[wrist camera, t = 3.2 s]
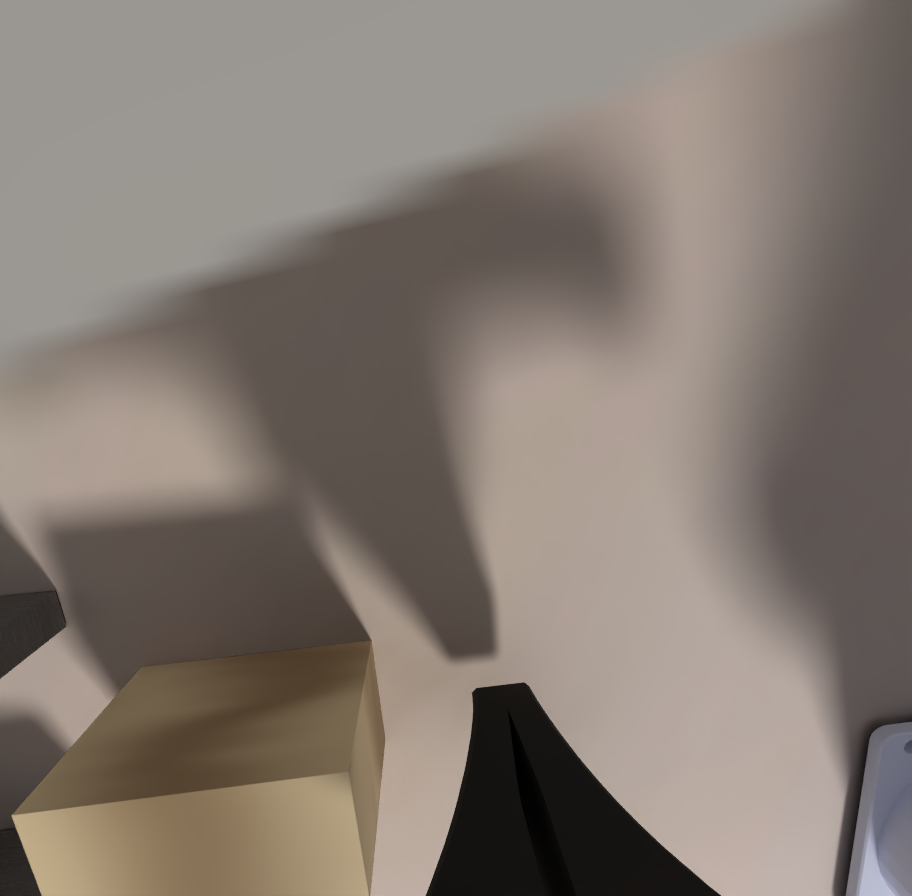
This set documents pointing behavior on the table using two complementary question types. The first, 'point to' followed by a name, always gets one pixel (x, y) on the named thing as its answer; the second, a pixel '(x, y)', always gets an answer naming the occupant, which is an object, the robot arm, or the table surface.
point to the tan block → (219, 782)
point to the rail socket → (3, 647)
